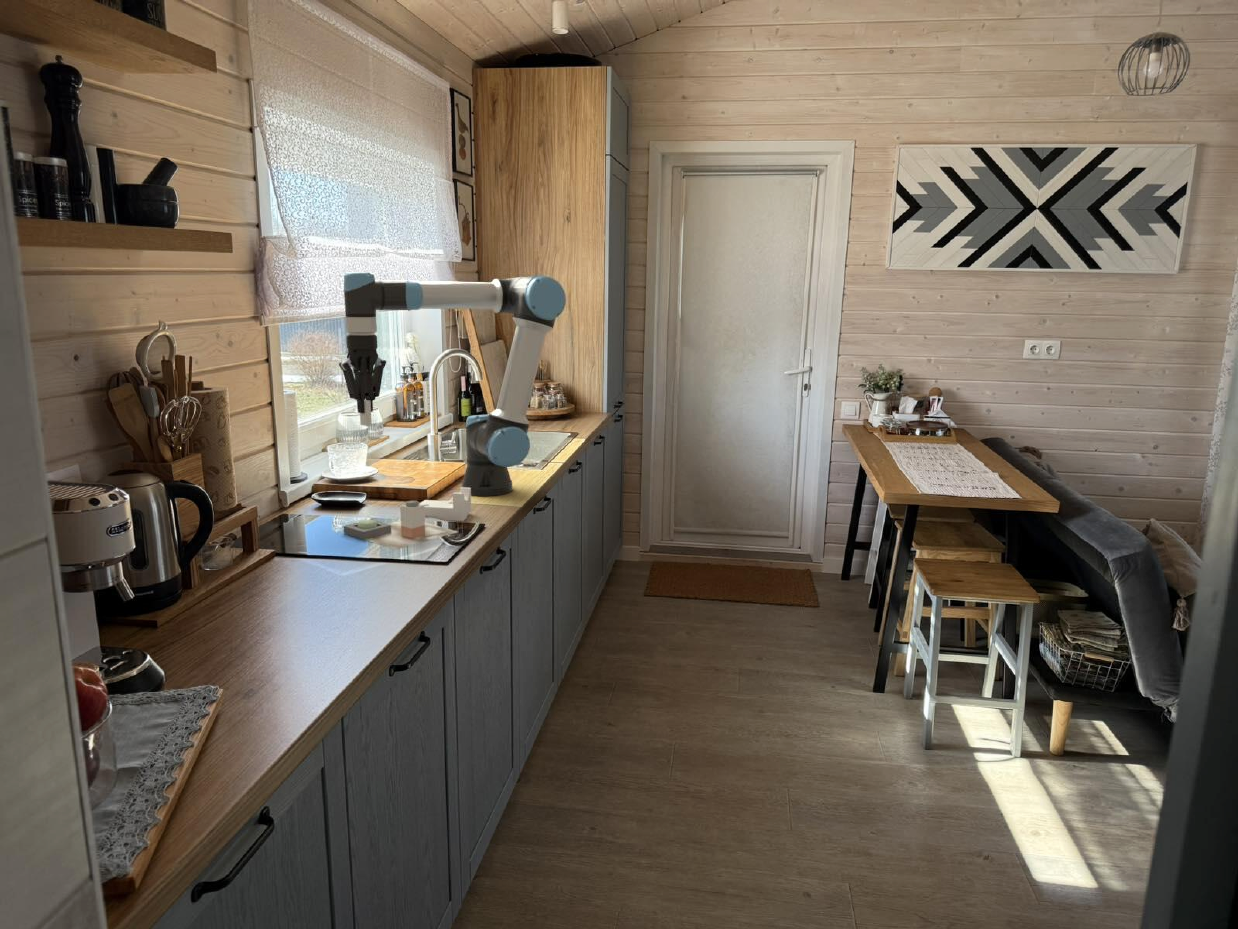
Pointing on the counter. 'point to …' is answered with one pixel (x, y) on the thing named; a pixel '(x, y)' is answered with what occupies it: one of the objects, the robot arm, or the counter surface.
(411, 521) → the white tall block
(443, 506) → the bracket
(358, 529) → the button housing
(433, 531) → the cloth
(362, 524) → the button
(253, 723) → the counter surface
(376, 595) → the counter surface
